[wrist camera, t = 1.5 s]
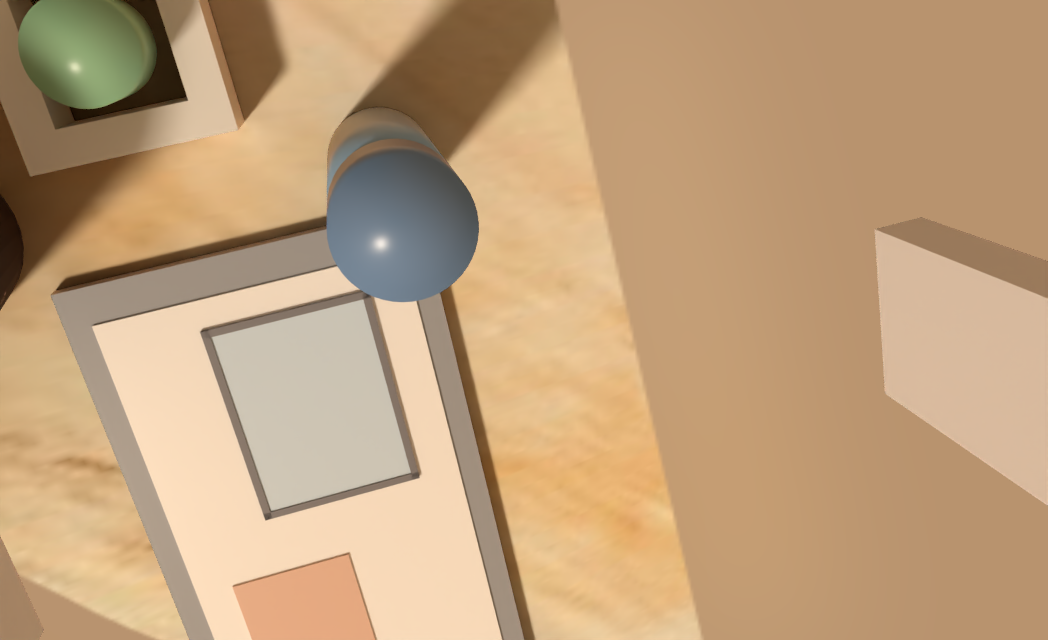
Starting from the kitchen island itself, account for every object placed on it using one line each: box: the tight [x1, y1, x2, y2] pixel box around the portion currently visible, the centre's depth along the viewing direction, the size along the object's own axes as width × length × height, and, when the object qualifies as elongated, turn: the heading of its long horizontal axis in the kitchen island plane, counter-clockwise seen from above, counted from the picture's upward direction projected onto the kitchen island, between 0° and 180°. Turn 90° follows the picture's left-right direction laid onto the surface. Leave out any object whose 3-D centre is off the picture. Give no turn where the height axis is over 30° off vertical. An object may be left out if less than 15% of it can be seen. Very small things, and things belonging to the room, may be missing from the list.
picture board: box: [51, 226, 524, 640], centre depth 39 cm, size 24×14×1 cm, turn 11°
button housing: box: [0, 0, 244, 177], centre depth 31 cm, size 7×7×2 cm
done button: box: [18, 0, 157, 109], centre depth 29 cm, size 3×3×3 cm
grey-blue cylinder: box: [327, 107, 479, 302], centre depth 30 cm, size 4×4×12 cm
